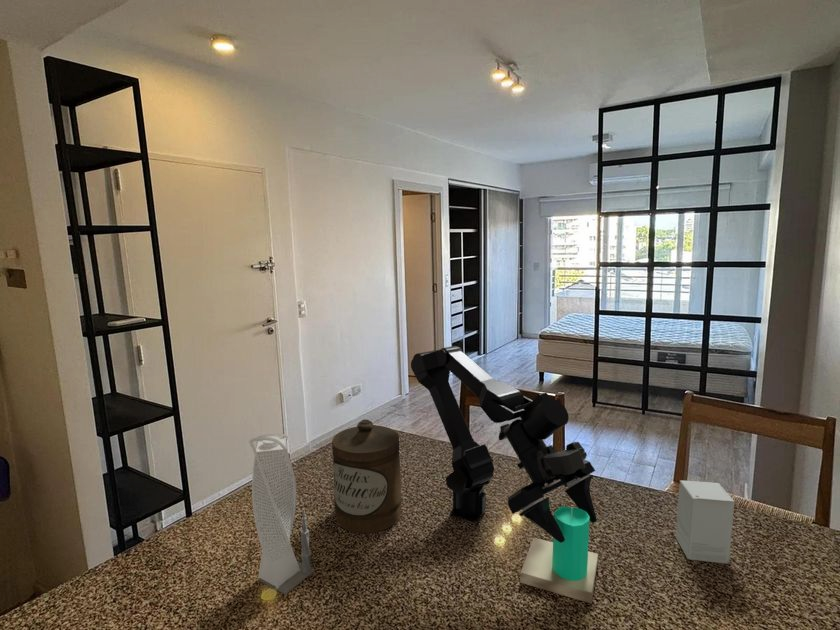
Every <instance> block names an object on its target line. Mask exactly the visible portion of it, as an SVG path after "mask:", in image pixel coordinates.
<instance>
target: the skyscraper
mask: <svg viewBox="0 0 840 630" xmlns="http://www.w3.org/2000/svg"><path fill="white" fill-rule="evenodd" d="M254 442H256V445H254ZM287 442H288V435H287V434H285V433H268V434H267V433H266V434H261V435H259V436H257V437H254V438H251V439H249V441H248V443H249V444H250V447H251V449H252V451H253V454H254V459H253V467H252V480H251V481H252V483H251V499H252V501H251V502H252V511H253V516H254V517H253V518H254V521H255V522H254V524H255V528H256V533H257V536H258V539H259V542H260V547H261V550H262V551H261V557H260V563H259V569H258V577H257V581H260V582H261V583H263V584H265V585H266V586H268V587H270V588H272V589H274V590H276V591H278V593H279V592H280V593H281V594H283V595H287V594H288V593H290V591H292V590H293V589H294V588H296V587H297V586H298V585H299V584H300V583H302V582H303V581H304V580H305V579H306V578H308V577H309V576H310V575H311V574H312V573H314V572H315V569H314V568H313V567H312V566H311V564H312V560H311V559H312V553H311V551H310V531H309V529H308V528H307V516H306V509H305V508H302V517H301V521H302V522H301V523H302V524H301V525H302V530H301V531H300V537H301V538H300V539H301V553H300V556H301V562H300V561H299V560H297V558H296V555H295V553H294V550H293V547H292V545H291V538H290V537H291V534H292V531H293V525H294V523H295V521H294V520H295V516H296V509H297V483H296V476H295V471H294V468H293V464H292V462H291V458H290V455H289V451H288V449H287V446H286V445H287Z"/></svg>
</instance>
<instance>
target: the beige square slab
mask: <svg viewBox="0 0 840 630" xmlns="http://www.w3.org/2000/svg"><path fill="white" fill-rule="evenodd" d="M552 557H553V541H548V540H545V539H542V538H537V537H533V538H532V541H531V544H530V545H529V549H528V551H527V554H526V557H525V559H524V561H523V564H522V568H521V571H520V574H519V575H520V581H519V583H520V584H523V585H528V586H531V587H534V588H537V589H541V590H545V591H548V592H551V593H555V594H558V595H561V596H565V597H568V598H571V599H575V600H579V601H581V602H586V603H589V604H592V602H593V596H594V595H593V594H594V589H595V582H596V576H597V570H598V560H599V558H598V557H599V553H596V552H592V551H589V550H588V564H587V574H586V577H585V578H583V579H581V580H573V581H571V580H567V579H564V578H561V577H560V576H559V575H557V574H556V573H555V572H554V570H553V567H552Z"/></svg>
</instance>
